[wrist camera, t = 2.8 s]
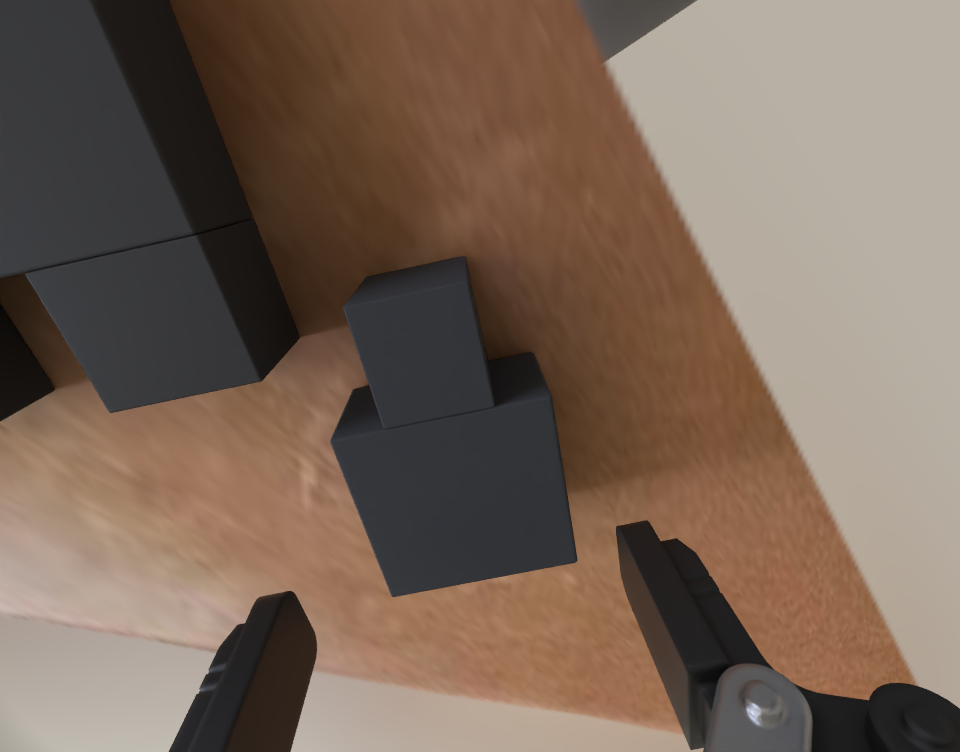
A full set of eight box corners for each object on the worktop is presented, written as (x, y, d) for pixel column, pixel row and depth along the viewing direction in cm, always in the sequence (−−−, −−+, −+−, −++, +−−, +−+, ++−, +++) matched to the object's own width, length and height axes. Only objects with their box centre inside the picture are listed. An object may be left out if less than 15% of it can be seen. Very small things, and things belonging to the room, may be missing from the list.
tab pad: (316, 287, 14) (280, 320, 11) (515, 244, 14) (531, 266, 11) (401, 527, 18) (391, 598, 15) (557, 497, 18) (578, 563, 15)
